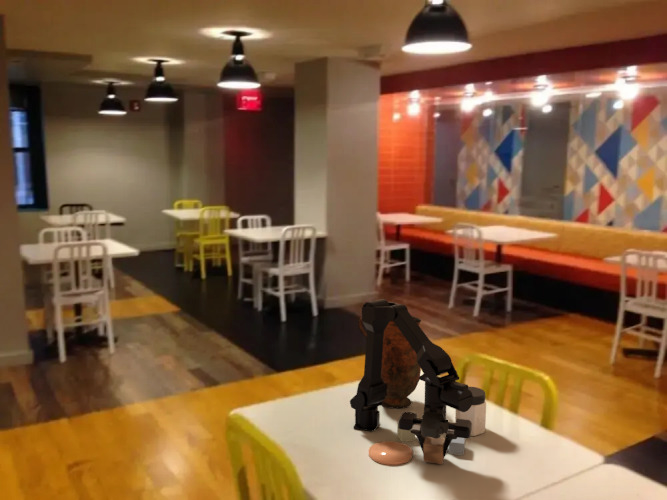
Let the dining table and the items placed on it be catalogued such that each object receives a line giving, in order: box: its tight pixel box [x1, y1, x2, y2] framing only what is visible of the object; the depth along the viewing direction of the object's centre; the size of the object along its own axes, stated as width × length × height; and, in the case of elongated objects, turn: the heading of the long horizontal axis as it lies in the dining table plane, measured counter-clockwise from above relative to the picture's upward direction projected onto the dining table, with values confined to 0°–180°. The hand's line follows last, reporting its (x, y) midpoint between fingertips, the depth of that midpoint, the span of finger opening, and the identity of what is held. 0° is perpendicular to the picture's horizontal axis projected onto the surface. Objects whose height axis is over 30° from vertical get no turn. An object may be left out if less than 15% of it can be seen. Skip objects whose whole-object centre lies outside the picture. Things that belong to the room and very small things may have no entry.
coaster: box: [368, 440, 413, 466], centre depth 172 cm, size 12×12×1 cm
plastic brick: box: [448, 437, 466, 456], centre depth 174 cm, size 4×5×4 cm
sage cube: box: [396, 423, 416, 443], centre depth 181 cm, size 4×4×4 cm
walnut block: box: [422, 436, 445, 465], centre depth 168 cm, size 5×5×5 cm
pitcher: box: [358, 314, 422, 410], centre depth 205 cm, size 17×21×30 cm
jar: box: [454, 386, 487, 437], centre depth 186 cm, size 9×8×12 cm
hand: (434, 454), depth 168 cm, fingers closed on walnut block, 5 cm apart
